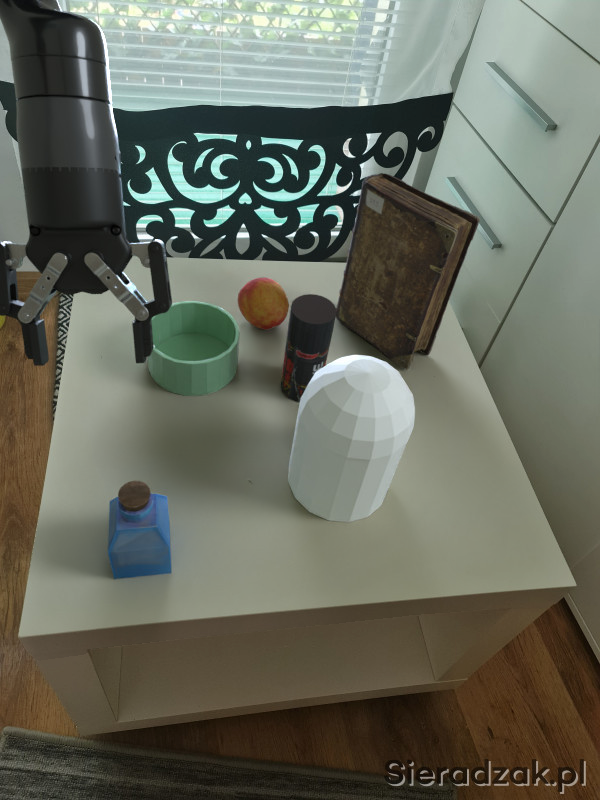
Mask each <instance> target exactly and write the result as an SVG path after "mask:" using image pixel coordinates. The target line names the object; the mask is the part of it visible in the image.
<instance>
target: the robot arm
mask: <svg viewBox="0 0 600 800" xmlns="http://www.w3.org/2000/svg"><path fill="white" fill-rule="evenodd" d="M0 23H1V25H2V27H3V30H4V33H5V35H6V38H7V42H8V45H9V56H10V62H11V70H12V77H13V85H14V86H13V87H14V92H15V93H14V95H15V100H16V101H15V105H16V139H17V140H16V141H17V146H18V147H17V148H18V155H19V162H20V168H21V169H20V170H21V178H22V186H23V193H24V202H25V209H26V210H25V211H26V217H27V224H28V230H29V236H28V239H27V242H26V243H17V242H16V243H15V242H14V243H13V242H12V241H11V240H5V239H4V240H0V316H1V317H5V316H6V317H10V318H12V319H15V320H16V321H18V322H19V324H20V327H21V333H22V340H23V348H24V354H25V356H26V358H27V359H28V360H32V364H33V365H34V366H35V367H38V366H42V367H43V366H45V365H46V364H47V363H48V362H49V360H50V359H49V358H50V355H49V347H48V340H47V333H46V332H47V331H46V325H45V319H44V318H43V319H41V315H42V313H43V312H44V310H45V309H46V307H47V306H48V304H50V302H51V300H52V299H53V298H54V297H55V296H56V294H57V292H59V293H61V294H62V295H63V296H64V295H69V296H70V295H75V294H76V295H77V294H79V293H86V294H89V295H102V294H104V293H106V292H108V291H109V292H110V293H111V294H112V295H113V296H114V297H115V298H116V299H117V300H118V301H119V302H120V303H122V304H123V305H124V306H125V308H126V309H127V310H128V311H129V312H130V313H131V314H132V315H133V317H134V320H133V321H132V322H131V323H132V324H131V325H132V334H133V335H132V337H133V346H134V357H135V358H134V360H135V364H145V363H146V361H147V360H148V358H147V357H149V356H150V355H151V353H152V350H153V333H152V317H154V316H156V315H158V314H161V313H166V312H167V311H168V310H169V309H170V307H171V305H172V304H173V298H172V289H171V281H170V274H169V267H168V258H167V250H166V244H165V242H164V241H163V240H161V239H154V240H151V241H145V242H131V240H130V239H129V237H128V234H127V229H126V219H125V207H124V195H123V182H122V172H121V165H122V155H121V151H120V146H119V137H118V131H117V126H116V122H115V116H114V112H113V106H112V104H113V101H112V89H111V80H110V79H111V78H110V77H111V76H110V69H109V68H110V67H109V56H108V48H107V42H106V38H105V35H104V33H103V31H102V29H101V27H100V25H98V24H97V23H96V22H94V20H92V19H90V18H88V17H86V16H84V15H81V14H77V13H74V12H70V11H65V10H62V8H61V6H60V4H59V1H58V0H0ZM133 256H134V257H137V258H138V259H139V262H140V264H141V266H143V267H144V268H145V269H149V271H150V277H151V286H152V294H153V299H151V300H148V301H147V299H146V298H145V297H144V296H143V295H142V294H141V292H139V290H138V288H137V287H136V285H135V284H134V283H133V281H132V280H131V279H130V278H129V277H128V276H127V275H126V273H125V272H124V271H125V270H126V268H127V266H128V264H129V263H130V262H131V260H132V258H133ZM25 257H27V259H28V261H30V263H31V264H32V265H33V266H34V267H35V268H36V270H37V271H38V272H39V273H40V274H41V275H40V276H39V277H38V279H37V280H36V282H35V284H33V287H32V288H31V290H30V291H29V294H28V296H27V299H26V300H25V301H21V300H19V290H18V276H17V270H18V269H19V268H21V267H22V266H23V262H24V258H25Z"/></svg>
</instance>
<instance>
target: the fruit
mask: <svg viewBox="0 0 600 800" xmlns="http://www.w3.org/2000/svg"><path fill="white" fill-rule="evenodd" d="M237 305H238V308H239V311H240V312H241V315H242V316H243V318H244V319H245V320H246V321H247V322H248V323H249V324H250V325H251V326H253V327H255V328H257V329H261V330H266V331H268V330H271V329H273V328H275V327H278V326H280V325H281V324H282V323H283V322H284V321H285V320H286V318H287V316H288V313H289V307H290V304H289V299H288V296H287V294H286V292H285V290H284V288H283V287H282V285H281V284H280V283H279V282H277V281H276V280H274V279H272V278H269V277H264V276H263V277H262V276H261V277H257V278H253V279H251V280H249V281H248V282H247V283H245V284H244V285H243V286H242V287H241V288H240V290H239V292H238V294H237Z"/></svg>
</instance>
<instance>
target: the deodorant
mask: <svg viewBox="0 0 600 800" xmlns="http://www.w3.org/2000/svg"><path fill="white" fill-rule="evenodd" d="M336 307H337V306H336V305H335V304H334V303H333V301H332V300H330V299H329V298H327V297H325V296H322V295H319V294H314V293H313V294H312V293H308V294H303V295H299V296H297V297H296V298H294V300H292V302H291V306H290V311H289V317H288V318H289V319H288V326H287V334H286V341H285V348H284V356H283V361H282V369H281V377H280V384H279V385H280V387H279V388H280V391H281V393H282V394H283V395H284V397H286V398H287V399H288V400H291V401H293V402H296V403H300V398H301V396H302V395H303V393H304V391H305V389H306V387H307V385H308V384H309V382H310V380H311V379H312V377H313V376H314V374H315V372H316V371H318V370H320V369H321V368H323V367H324V366H326V365H327V360H328V355H329V351H330V345H331V341H332V337H333V332H334V327H335V323H336V319H337V317H336V313H337V311H336Z"/></svg>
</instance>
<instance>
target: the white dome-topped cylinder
mask: <svg viewBox="0 0 600 800" xmlns="http://www.w3.org/2000/svg"><path fill="white" fill-rule="evenodd" d="M414 399H415V398H414V395H413V392H412V391H411V390H410V388H409V386H408V385H407V383H406V381H405V380H404V378H403V376H402V375H401V374H400V371H398V370H397V369H396V368H395V367H393V366H392V365H391V364H389V363H388V362H387V361H385V360H381V359H380V358H377V357H374V356H372V355H371V356H370V355H364V354H363V355H362V354H352V355H351V354H350V355H345V356H341V357H338V358H337V359H335V360H333V361H331V362H330V363H327V364H326V365H325V366H324V367H323V368H321V369H320V370H318V371H316V372H315V374H314V376H313V377H312V379H311V380H310V382H309V384H308V385H307V387H306V389H305V391H304V393H303V395H302V396H301V398H300V402H299V405H298V410H297V416H296V422H295V428H294V432H293V440H292V445H291V450H290V455H289V456H290V457H289V462H288V472H287V473H288V474H287V475H288V476H287V482H288V485H289V487H290V490H291V492H292V495H293V496H294V499H295V500H297V502H298V503H299V504H300V505H302V506H303V507H304V508H305V510H306V511H308V513H311V514H313V515H315V516H317V517H320V518H322V519H324V520H327V521H329V522H331V521H332V522H340V523H341V522H342V523H352V522H354V521H355V522H356V521H359V520H362V519H366V518H368V517H370V516H371V515H372V514H373V513H374V512H375V511H377V510H378V509H379V508H381V507H382V505H383V503H384V500H385V498H386V496H387V493H388V491H389V489H390V486H391V484H392V481H393V478H394V476H395V473H396V470H397V468H398V466H399V463H400V461H401V458H402V456H403V454H404V451H405V449H406V446H407V443H408V441H409V440H410V437H411V435H412V432H413V430H414V428H415V416H416V407H415V400H414Z"/></svg>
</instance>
